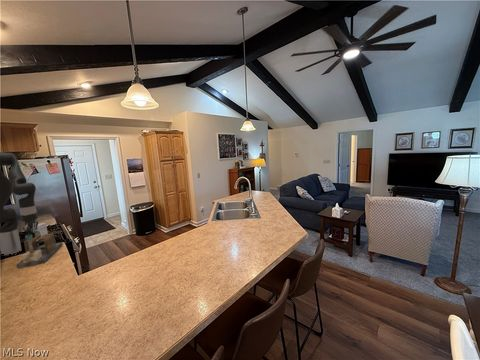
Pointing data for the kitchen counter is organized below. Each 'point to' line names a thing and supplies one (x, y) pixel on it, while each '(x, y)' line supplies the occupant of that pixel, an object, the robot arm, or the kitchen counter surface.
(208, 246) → the kitchen counter surface
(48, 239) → the tunnel
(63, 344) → the kitchen counter surface
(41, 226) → the syrup box
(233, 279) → the kitchen counter surface
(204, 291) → the kitchen counter surface
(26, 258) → the slider block
